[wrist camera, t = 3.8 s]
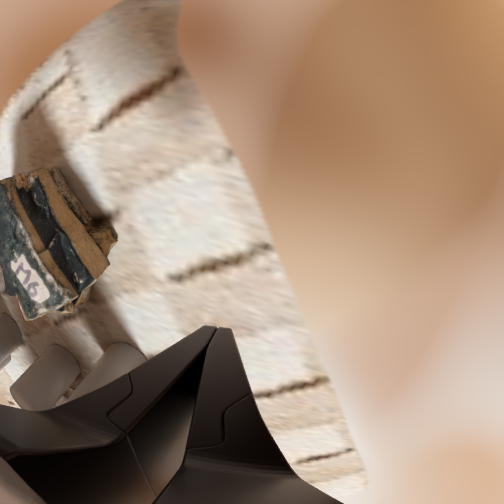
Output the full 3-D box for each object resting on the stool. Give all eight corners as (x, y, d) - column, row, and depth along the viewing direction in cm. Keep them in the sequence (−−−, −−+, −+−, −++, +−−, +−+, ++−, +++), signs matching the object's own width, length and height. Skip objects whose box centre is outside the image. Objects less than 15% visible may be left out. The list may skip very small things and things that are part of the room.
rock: (8, 212, 17) (-47, 233, 12) (82, 147, 15) (12, 155, 10) (55, 311, 20) (9, 350, 14) (140, 276, 17) (89, 325, 12)
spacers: (160, 416, 22) (136, 472, 16) (-12, 351, 24) (-41, 378, 18) (144, 335, 19) (101, 395, 13) (-35, 286, 21) (-71, 310, 15)
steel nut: (80, 385, 22) (71, 396, 21) (93, 417, 24) (87, 428, 22) (49, 374, 23) (40, 384, 21) (64, 406, 24) (57, 415, 23)
